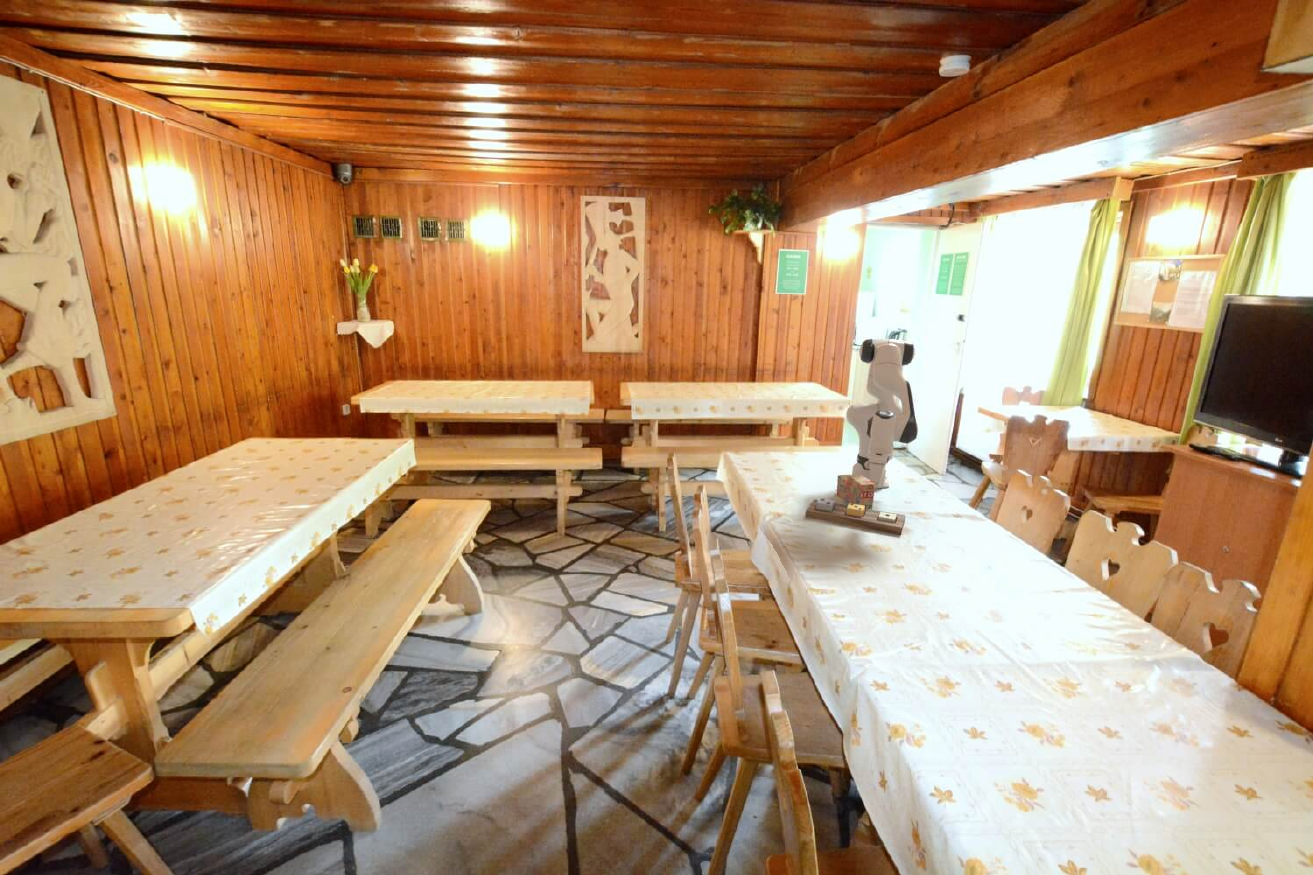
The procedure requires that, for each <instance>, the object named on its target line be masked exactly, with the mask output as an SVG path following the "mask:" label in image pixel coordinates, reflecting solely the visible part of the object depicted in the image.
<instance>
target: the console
mask: <svg viewBox="0 0 1313 875" xmlns="http://www.w3.org/2000/svg"><path fill="white" fill-rule="evenodd" d="M818 500H819V499H813V500H812V502H811V503H810V504H809V506H808V507H807V508H806V512H805V518H808V519H814V520H820V521H823V522H824V521H826V522H829V523H830V522H831V523H835V524H840V525H846V526H852V527H857V528H862V529H867V530H873V531H877V532H878V531H879V532H884V533H889V534H895V535H902V534H903V533H902V532H903V530H904V526H905V521H906V514H899V513H895V512H889V511H885V512H886V513H891V514H897V516H896V523H892V522H887V521H881V520H878V517H879V514H880V512H884V511H883V510H877V509H873V508H872V509H866V508H865V511H864V516H863V517H859V516H853V515H848V514H846V513H847V507H848V505H849V504H848V505H847V504H843V503H837V502H834V509H833V511H832V512H831V511H826V510H820V509H816V503H817V501H818Z"/></svg>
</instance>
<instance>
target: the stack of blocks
mask: <svg viewBox="0 0 1313 875" xmlns="http://www.w3.org/2000/svg"><path fill="white" fill-rule="evenodd" d="M836 481H837V483H836V484H837V485H836V496H838V497H839V498H840V499H842V500H843V501H844V502H845V503H847V504H848V505H849V503H852V504H857V505H863V506H865V508H866V509H872V510H873V503H874V497H875V490H876V489H875V488H874V483H872V482H870V480H869V479H867V478H865V477H864V476H862V475H852V474H838V475H837V480H836Z"/></svg>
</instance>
